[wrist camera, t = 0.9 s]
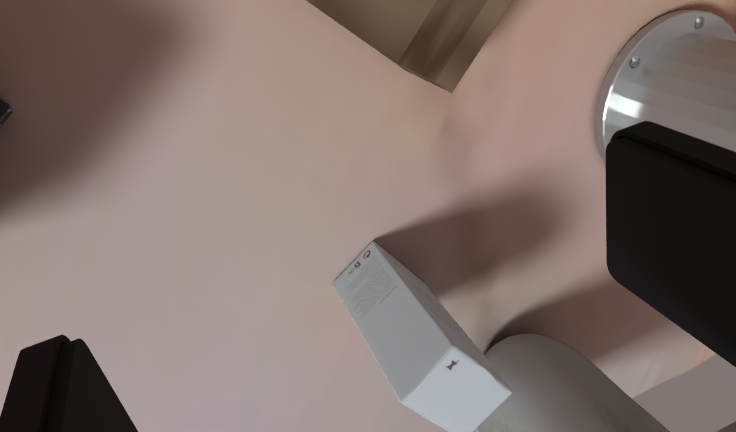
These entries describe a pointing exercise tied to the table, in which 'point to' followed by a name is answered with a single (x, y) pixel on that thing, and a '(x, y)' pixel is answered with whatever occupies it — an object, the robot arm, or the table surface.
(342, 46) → the table surface
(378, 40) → the bay
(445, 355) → the skincare box
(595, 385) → the glass bottle
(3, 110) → the small box
